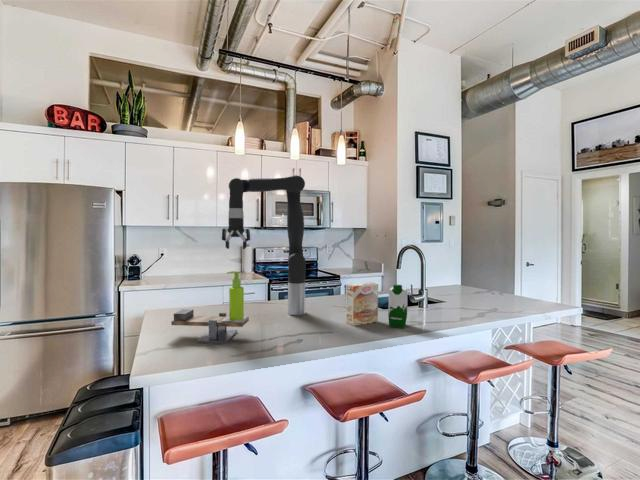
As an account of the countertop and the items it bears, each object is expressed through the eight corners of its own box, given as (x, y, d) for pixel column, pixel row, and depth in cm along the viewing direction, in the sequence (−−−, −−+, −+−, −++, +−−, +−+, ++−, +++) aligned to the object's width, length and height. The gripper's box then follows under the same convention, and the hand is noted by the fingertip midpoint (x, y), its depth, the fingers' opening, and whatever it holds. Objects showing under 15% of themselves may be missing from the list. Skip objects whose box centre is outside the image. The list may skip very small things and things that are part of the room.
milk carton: (387, 327, 165) (387, 285, 165) (389, 322, 174) (390, 282, 173) (406, 328, 163) (406, 286, 162) (407, 324, 171) (408, 283, 170)
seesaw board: (248, 320, 152) (248, 310, 152) (242, 326, 142) (242, 315, 142) (182, 318, 154) (182, 308, 154) (171, 325, 144) (171, 314, 144)
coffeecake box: (353, 326, 167) (353, 285, 166) (345, 322, 173) (345, 283, 172) (378, 322, 174) (378, 283, 173) (370, 319, 180) (370, 281, 179)
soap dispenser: (228, 316, 150) (228, 270, 150) (244, 316, 151) (244, 270, 150) (225, 320, 144) (225, 272, 144) (242, 319, 145) (242, 272, 144)
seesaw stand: (237, 332, 156) (237, 312, 156) (225, 343, 140) (225, 321, 140) (211, 331, 157) (211, 311, 157) (196, 343, 141) (196, 321, 141)
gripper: (220, 217, 175) (220, 249, 176) (247, 217, 175) (247, 249, 175) (225, 217, 183) (225, 248, 184) (251, 217, 182) (251, 248, 183)
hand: (236, 248), depth 179 cm, fingers open, 8 cm apart
